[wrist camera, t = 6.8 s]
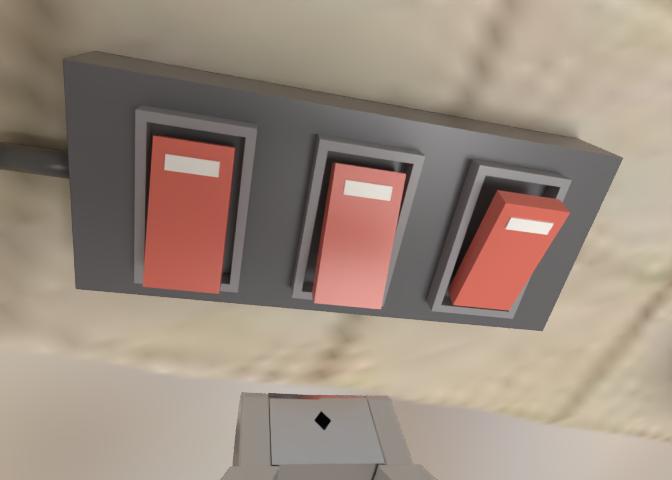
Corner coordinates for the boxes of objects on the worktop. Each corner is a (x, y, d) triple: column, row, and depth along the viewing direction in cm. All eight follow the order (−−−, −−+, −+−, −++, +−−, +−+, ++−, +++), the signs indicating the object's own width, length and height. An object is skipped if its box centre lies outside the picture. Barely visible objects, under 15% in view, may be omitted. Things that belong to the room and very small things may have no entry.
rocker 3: (447, 290, 23) (453, 306, 22) (497, 190, 20) (506, 204, 19) (501, 296, 24) (509, 311, 23) (559, 199, 20) (571, 213, 19)
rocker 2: (311, 295, 21) (314, 303, 20) (331, 161, 20) (336, 163, 19) (375, 301, 21) (381, 310, 20) (399, 172, 20) (407, 174, 19)
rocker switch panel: (17, 244, 24) (-35, 291, 20) (-8, 32, 19) (-79, 38, 15) (513, 296, 29) (551, 341, 25) (579, 139, 25) (636, 163, 21)
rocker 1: (148, 278, 20) (142, 287, 18) (158, 134, 18) (152, 135, 17) (220, 285, 20) (218, 294, 19) (236, 146, 19) (234, 148, 18)
